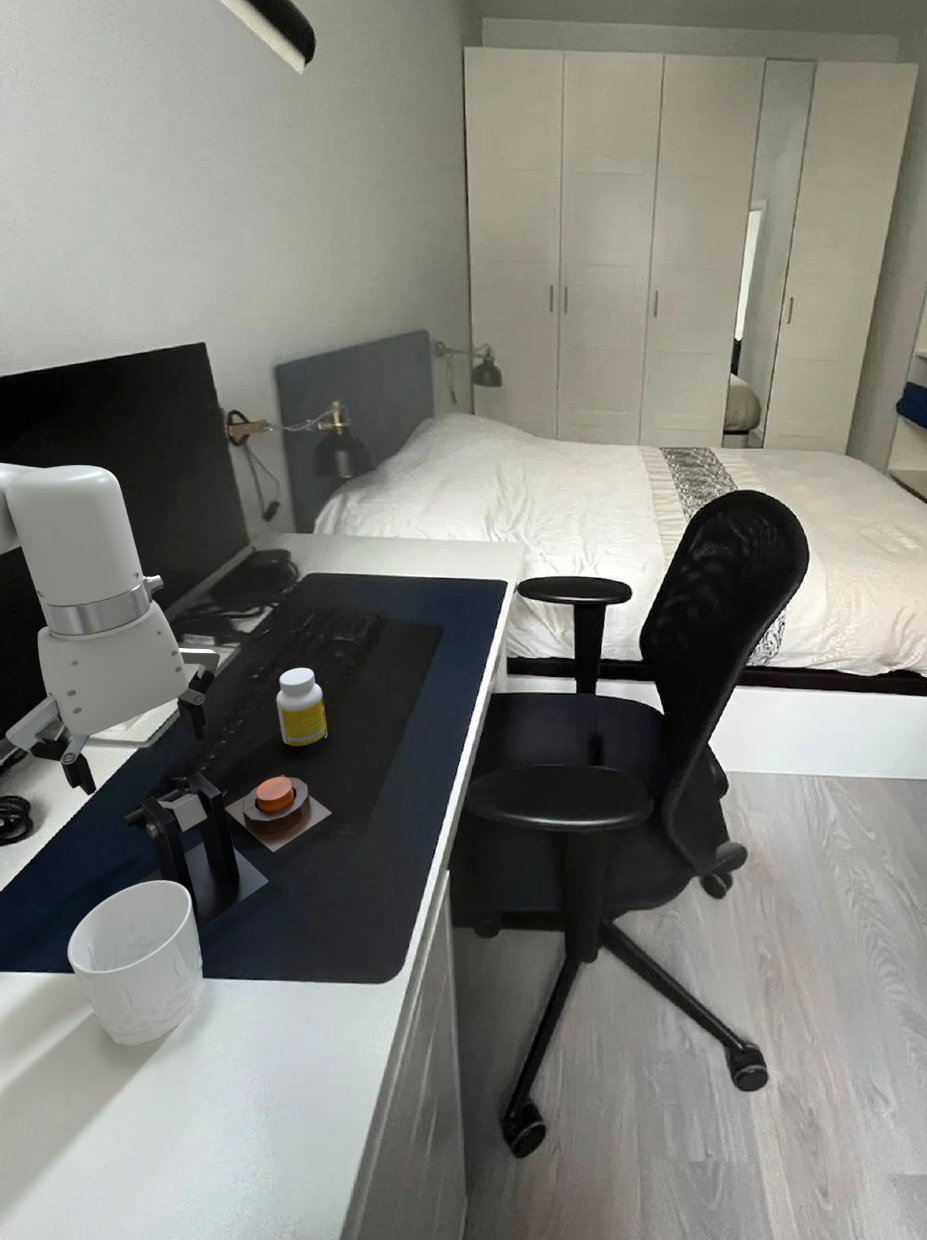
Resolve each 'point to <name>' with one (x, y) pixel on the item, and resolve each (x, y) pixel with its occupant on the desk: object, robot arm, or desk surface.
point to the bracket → (202, 857)
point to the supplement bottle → (301, 708)
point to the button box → (279, 816)
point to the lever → (175, 810)
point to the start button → (275, 794)
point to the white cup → (140, 961)
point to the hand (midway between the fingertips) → (143, 759)
